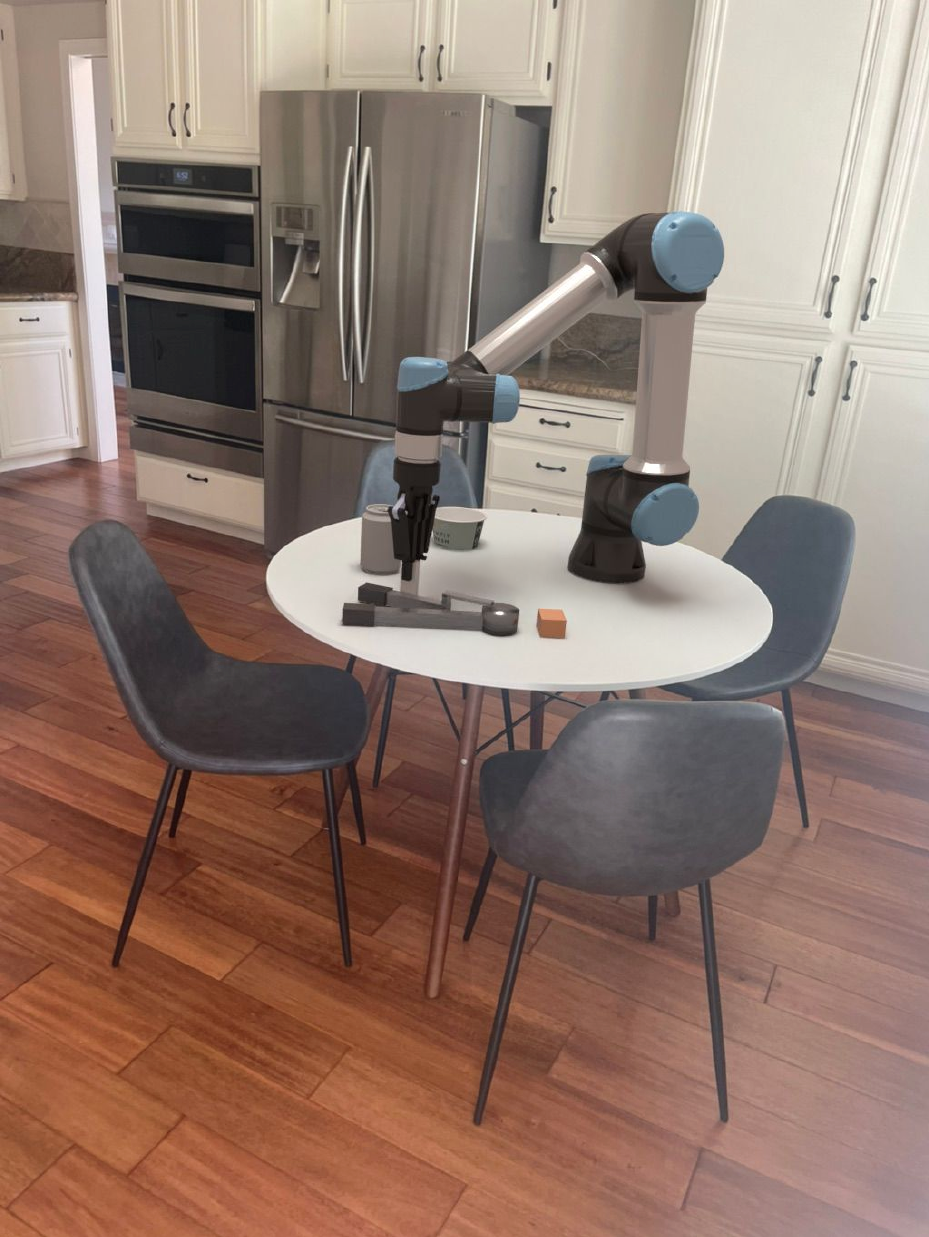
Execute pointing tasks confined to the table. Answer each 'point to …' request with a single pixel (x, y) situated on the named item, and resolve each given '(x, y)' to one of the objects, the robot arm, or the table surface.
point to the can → (377, 541)
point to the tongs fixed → (435, 618)
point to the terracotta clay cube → (551, 623)
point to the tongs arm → (412, 598)
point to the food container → (457, 528)
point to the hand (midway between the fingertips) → (408, 596)
